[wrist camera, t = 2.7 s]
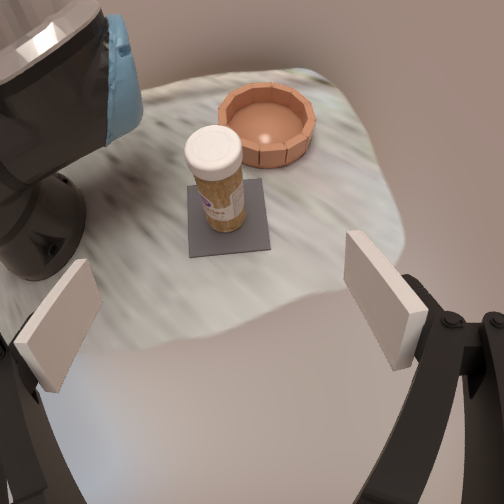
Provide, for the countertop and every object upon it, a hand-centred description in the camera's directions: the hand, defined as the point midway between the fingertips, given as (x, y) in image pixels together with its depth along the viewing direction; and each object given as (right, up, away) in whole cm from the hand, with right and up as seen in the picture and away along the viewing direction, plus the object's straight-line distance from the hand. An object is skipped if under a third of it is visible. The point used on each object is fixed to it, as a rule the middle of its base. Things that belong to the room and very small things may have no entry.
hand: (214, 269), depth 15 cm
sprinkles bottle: (-1, +5, +21) cm, 22 cm away
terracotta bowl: (+4, +17, +25) cm, 30 cm away
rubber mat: (-1, +5, +21) cm, 22 cm away
